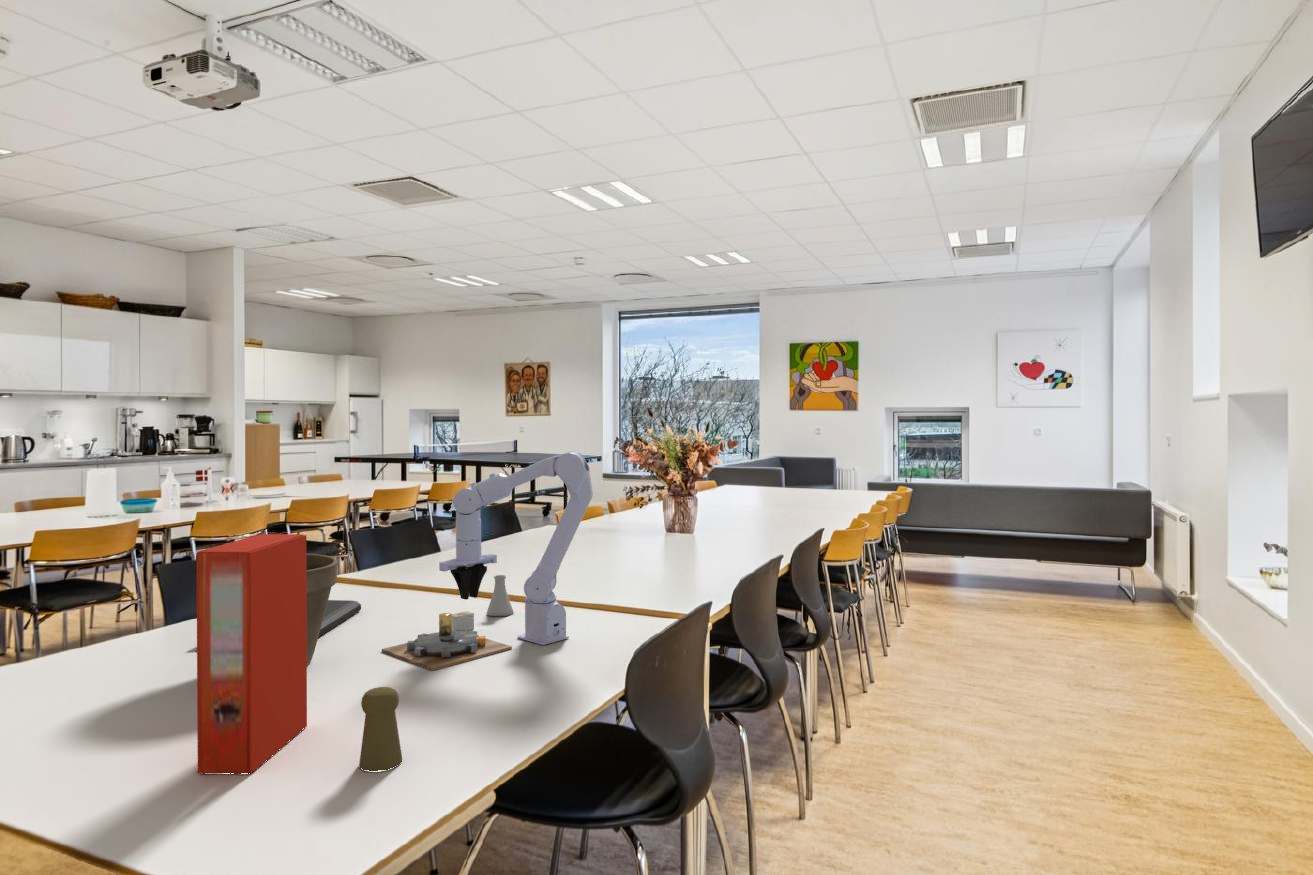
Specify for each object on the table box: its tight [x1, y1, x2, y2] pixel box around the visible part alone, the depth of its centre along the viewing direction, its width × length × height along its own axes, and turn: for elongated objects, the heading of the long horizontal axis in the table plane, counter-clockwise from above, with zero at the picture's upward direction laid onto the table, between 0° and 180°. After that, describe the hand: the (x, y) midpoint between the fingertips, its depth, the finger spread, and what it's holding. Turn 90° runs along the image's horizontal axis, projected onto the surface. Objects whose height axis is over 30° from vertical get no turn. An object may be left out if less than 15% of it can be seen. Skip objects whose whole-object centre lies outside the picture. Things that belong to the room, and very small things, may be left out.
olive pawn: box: [358, 686, 403, 771], centre depth 115 cm, size 6×6×11 cm
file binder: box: [196, 533, 308, 775], centre depth 120 cm, size 8×17×32 cm, turn 179°
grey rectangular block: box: [451, 610, 475, 632], centre depth 189 cm, size 3×5×4 cm, turn 138°
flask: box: [486, 574, 514, 617], centre depth 205 cm, size 7×7×10 cm
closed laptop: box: [318, 599, 362, 639], centre depth 191 cm, size 33×4×24 cm
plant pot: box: [306, 553, 339, 667], centre depth 161 cm, size 25×25×22 cm
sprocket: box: [406, 612, 487, 658], centre depth 172 cm, size 17×17×6 cm
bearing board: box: [381, 638, 513, 671], centre depth 172 cm, size 20×20×1 cm
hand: (469, 597), depth 182 cm, fingers closed
